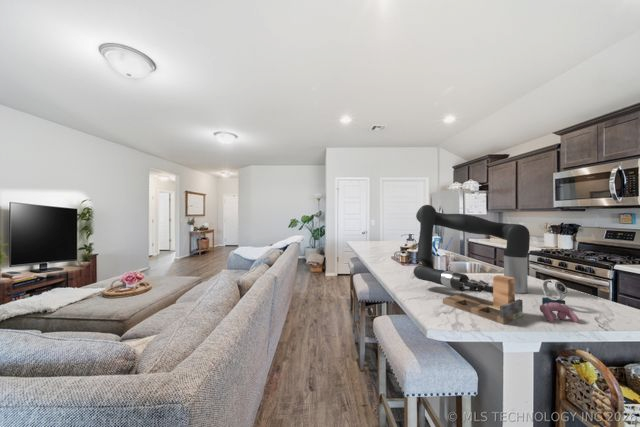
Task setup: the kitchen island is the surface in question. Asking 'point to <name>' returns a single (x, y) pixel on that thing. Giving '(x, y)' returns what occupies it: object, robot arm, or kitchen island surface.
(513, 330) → the kitchen island surface
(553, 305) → the pink arched figurine
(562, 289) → the watch
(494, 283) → the block
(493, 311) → the board
